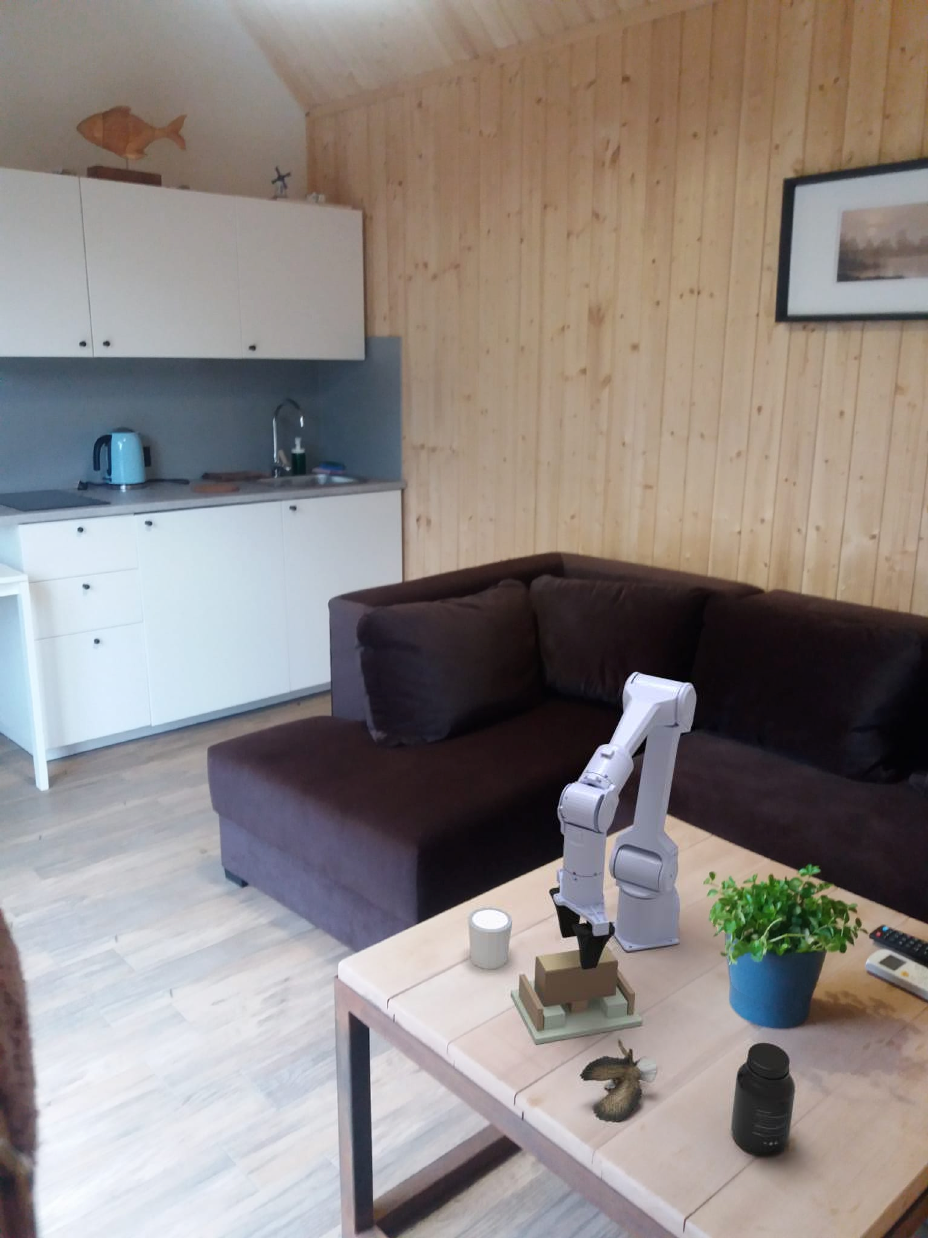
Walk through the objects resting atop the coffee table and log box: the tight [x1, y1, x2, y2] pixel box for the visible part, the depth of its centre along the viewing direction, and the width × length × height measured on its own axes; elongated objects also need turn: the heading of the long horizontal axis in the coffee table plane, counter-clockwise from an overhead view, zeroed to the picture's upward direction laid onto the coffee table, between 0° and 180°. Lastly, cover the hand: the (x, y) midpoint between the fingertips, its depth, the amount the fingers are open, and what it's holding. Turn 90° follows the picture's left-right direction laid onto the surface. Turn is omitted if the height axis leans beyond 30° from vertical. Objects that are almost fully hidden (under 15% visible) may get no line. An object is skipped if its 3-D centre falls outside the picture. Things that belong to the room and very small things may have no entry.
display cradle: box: [510, 968, 643, 1045], centre depth 145 cm, size 16×11×4 cm
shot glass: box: [467, 907, 513, 970], centre depth 156 cm, size 7×7×7 cm
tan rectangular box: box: [533, 945, 619, 1007], centre depth 144 cm, size 11×4×6 cm, turn 106°
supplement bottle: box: [730, 1042, 796, 1158], centre depth 122 cm, size 7×7×12 cm
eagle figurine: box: [579, 1038, 658, 1123], centre depth 129 cm, size 8×7×9 cm
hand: (578, 951), depth 143 cm, fingers open, 7 cm apart
